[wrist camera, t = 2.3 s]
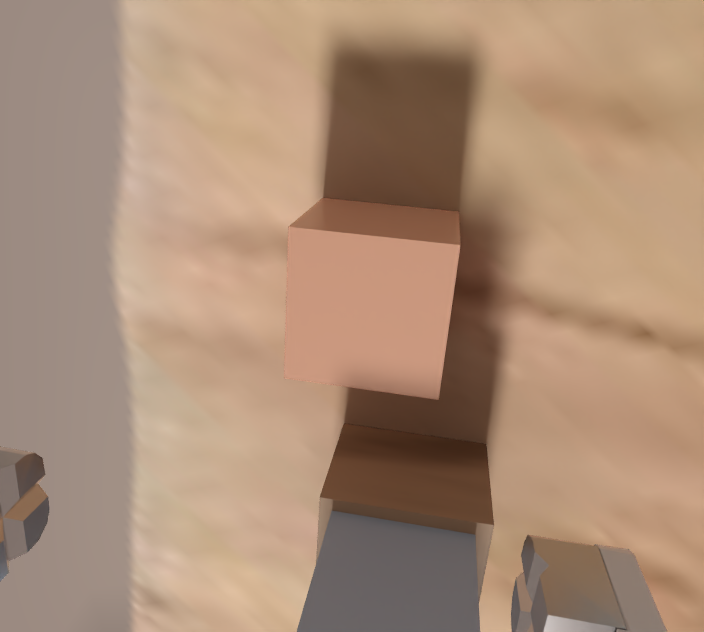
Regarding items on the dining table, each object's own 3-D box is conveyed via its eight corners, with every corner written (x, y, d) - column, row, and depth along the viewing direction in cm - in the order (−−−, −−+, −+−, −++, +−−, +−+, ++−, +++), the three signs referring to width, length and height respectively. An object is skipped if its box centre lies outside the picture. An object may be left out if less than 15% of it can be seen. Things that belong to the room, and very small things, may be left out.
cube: (323, 197, 22) (288, 226, 17) (458, 210, 21) (460, 245, 16) (317, 321, 24) (283, 378, 19) (441, 337, 23) (438, 399, 18)
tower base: (344, 422, 25) (319, 497, 20) (486, 442, 24) (493, 525, 20) (336, 533, 27) (313, 623, 23) (466, 554, 27) (469, 652, 22)
